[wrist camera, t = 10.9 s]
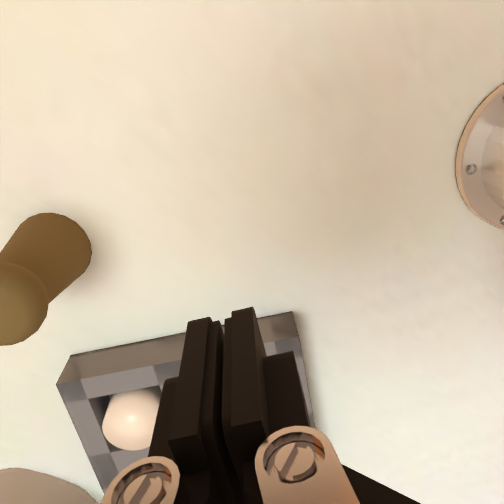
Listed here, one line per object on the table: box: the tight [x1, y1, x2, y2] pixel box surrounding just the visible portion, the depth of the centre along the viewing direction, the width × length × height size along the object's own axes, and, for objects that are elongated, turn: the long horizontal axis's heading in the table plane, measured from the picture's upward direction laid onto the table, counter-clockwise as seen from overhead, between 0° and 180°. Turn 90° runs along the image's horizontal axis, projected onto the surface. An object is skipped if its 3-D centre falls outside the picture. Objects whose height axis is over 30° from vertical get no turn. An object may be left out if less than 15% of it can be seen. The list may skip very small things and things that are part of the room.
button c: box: [102, 385, 162, 451], centre depth 40 cm, size 5×5×4 cm
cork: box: [0, 213, 92, 346], centre depth 32 cm, size 6×6×11 cm
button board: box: [56, 312, 315, 494], centre depth 43 cm, size 20×20×4 cm
